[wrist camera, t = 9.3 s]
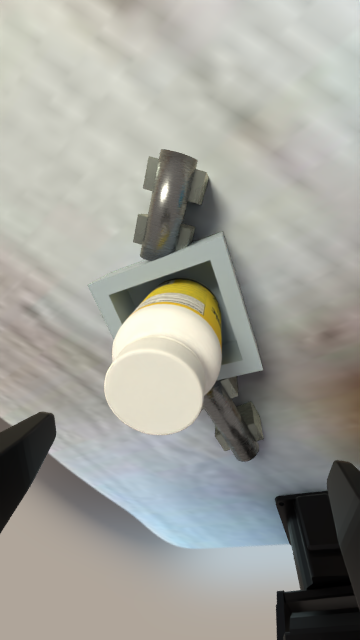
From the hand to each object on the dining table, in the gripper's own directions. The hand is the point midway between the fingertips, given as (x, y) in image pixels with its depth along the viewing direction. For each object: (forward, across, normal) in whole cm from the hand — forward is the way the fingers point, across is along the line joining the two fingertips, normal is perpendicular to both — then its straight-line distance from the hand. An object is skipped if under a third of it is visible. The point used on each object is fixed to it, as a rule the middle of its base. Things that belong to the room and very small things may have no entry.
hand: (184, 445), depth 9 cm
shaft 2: (+12, -2, +7) cm, 14 cm away
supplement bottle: (+12, +2, 0) cm, 12 cm away
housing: (+12, +2, 0) cm, 12 cm away
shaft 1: (+12, +3, -7) cm, 14 cm away
